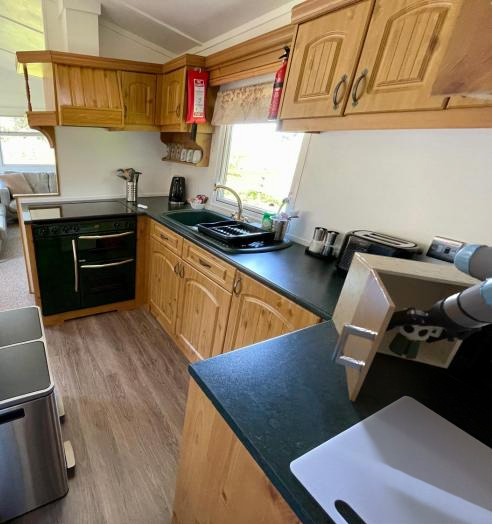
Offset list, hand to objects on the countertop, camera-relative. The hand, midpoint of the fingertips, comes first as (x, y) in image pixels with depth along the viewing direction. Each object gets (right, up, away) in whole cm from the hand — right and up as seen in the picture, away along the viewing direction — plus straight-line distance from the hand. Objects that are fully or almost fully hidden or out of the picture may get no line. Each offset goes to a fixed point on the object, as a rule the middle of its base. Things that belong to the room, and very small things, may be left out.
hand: (403, 333), depth 84 cm
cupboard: (+2, -5, +10) cm, 11 cm away
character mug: (-1, -6, -1) cm, 6 cm away
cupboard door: (-22, -8, -3) cm, 24 cm away
